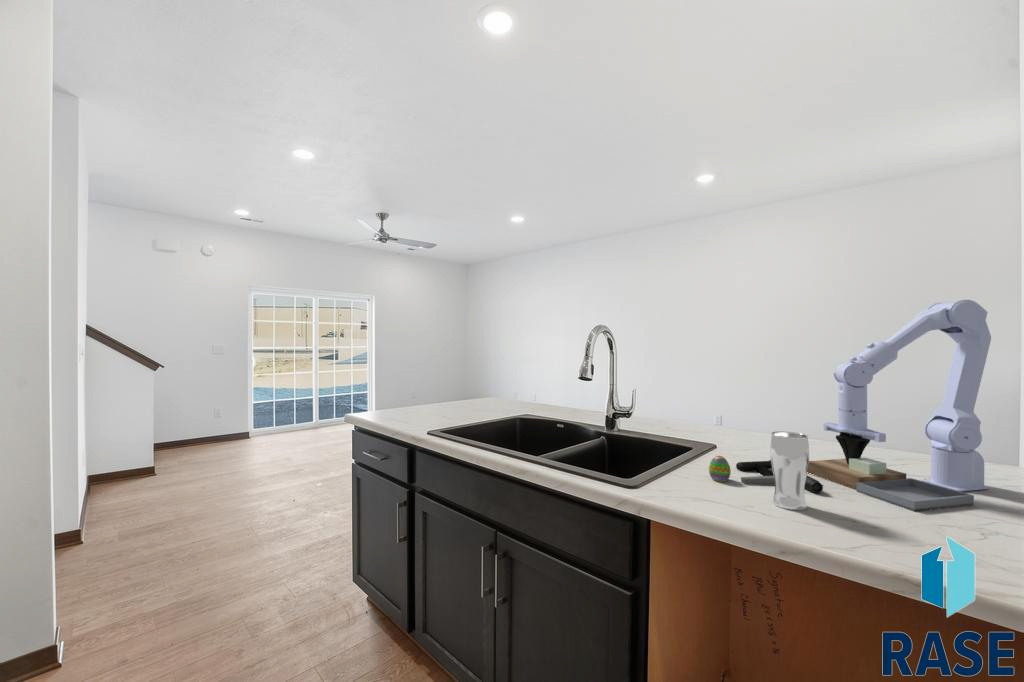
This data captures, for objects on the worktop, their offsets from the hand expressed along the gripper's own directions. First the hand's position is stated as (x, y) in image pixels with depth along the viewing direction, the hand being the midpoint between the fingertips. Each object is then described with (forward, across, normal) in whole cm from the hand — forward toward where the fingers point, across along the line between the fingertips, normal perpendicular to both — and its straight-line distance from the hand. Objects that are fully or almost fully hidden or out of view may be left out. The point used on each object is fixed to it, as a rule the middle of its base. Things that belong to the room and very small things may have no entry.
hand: (852, 464), depth 110 cm
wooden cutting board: (+4, 0, 0) cm, 4 cm away
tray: (+4, +14, 0) cm, 14 cm away
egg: (+4, -7, -33) cm, 34 cm away
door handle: (+4, -4, -21) cm, 22 cm away
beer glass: (+4, +11, -30) cm, 32 cm away
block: (+1, +4, 0) cm, 4 cm away
